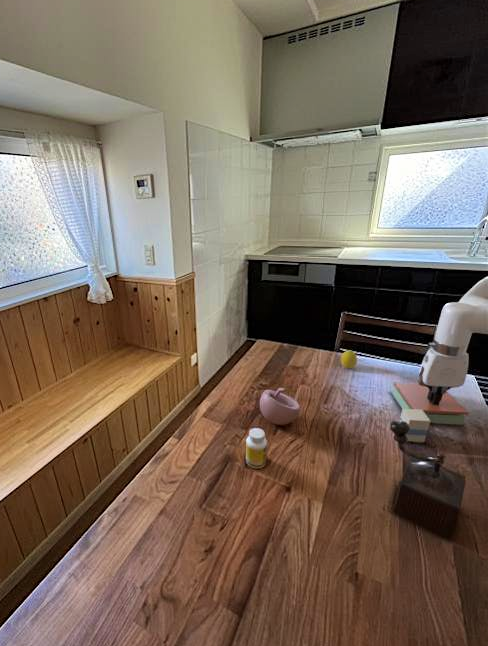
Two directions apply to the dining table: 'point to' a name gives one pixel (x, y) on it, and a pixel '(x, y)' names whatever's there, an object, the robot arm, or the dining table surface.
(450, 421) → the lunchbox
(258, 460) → the supplement bottle
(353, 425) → the dining table surface
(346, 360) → the lemon
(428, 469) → the manual coffee grinder
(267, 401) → the mortar and pestle
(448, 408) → the lunchbox lid
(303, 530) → the dining table surface
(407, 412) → the drink carton
